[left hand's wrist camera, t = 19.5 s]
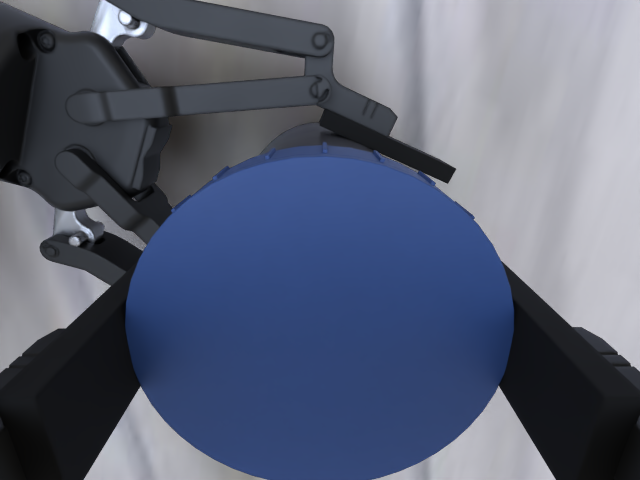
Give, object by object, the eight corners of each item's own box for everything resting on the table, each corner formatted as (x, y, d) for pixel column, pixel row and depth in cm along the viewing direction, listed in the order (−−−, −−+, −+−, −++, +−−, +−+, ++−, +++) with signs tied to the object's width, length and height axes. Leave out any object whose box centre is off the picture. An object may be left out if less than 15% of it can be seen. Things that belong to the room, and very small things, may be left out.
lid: (92, 333, 12) (54, 374, 11) (288, 55, 9) (280, 47, 8) (340, 478, 15) (343, 531, 13) (557, 290, 12) (599, 325, 10)
